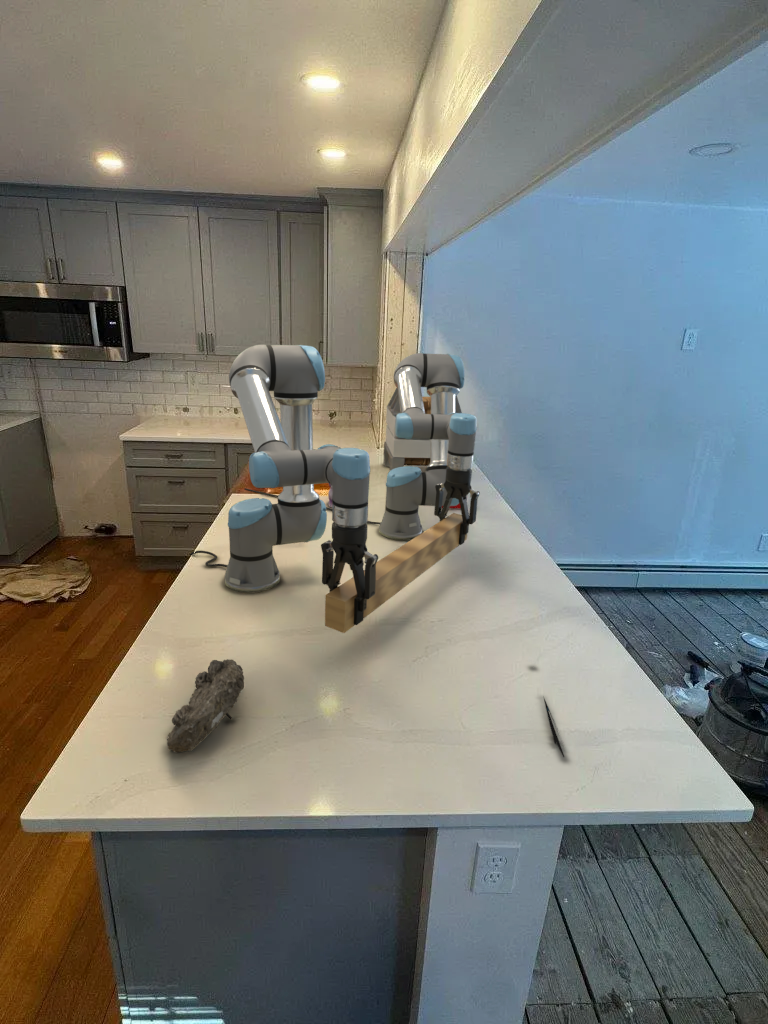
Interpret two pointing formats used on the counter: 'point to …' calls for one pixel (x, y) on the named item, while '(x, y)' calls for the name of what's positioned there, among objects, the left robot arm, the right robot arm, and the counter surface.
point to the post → (394, 572)
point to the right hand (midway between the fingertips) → (452, 540)
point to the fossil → (206, 705)
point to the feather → (553, 727)
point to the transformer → (402, 448)
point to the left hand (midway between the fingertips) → (347, 617)
